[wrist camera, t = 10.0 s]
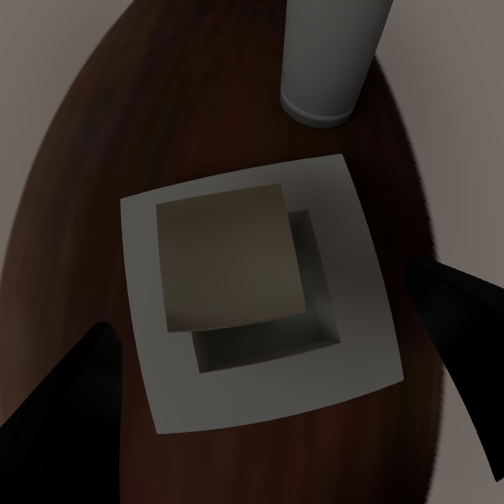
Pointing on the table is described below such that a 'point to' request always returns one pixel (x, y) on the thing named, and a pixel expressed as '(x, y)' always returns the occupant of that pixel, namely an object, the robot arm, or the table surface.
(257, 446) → the table surface
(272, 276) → the birch peg
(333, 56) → the travel mug
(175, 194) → the socket block
